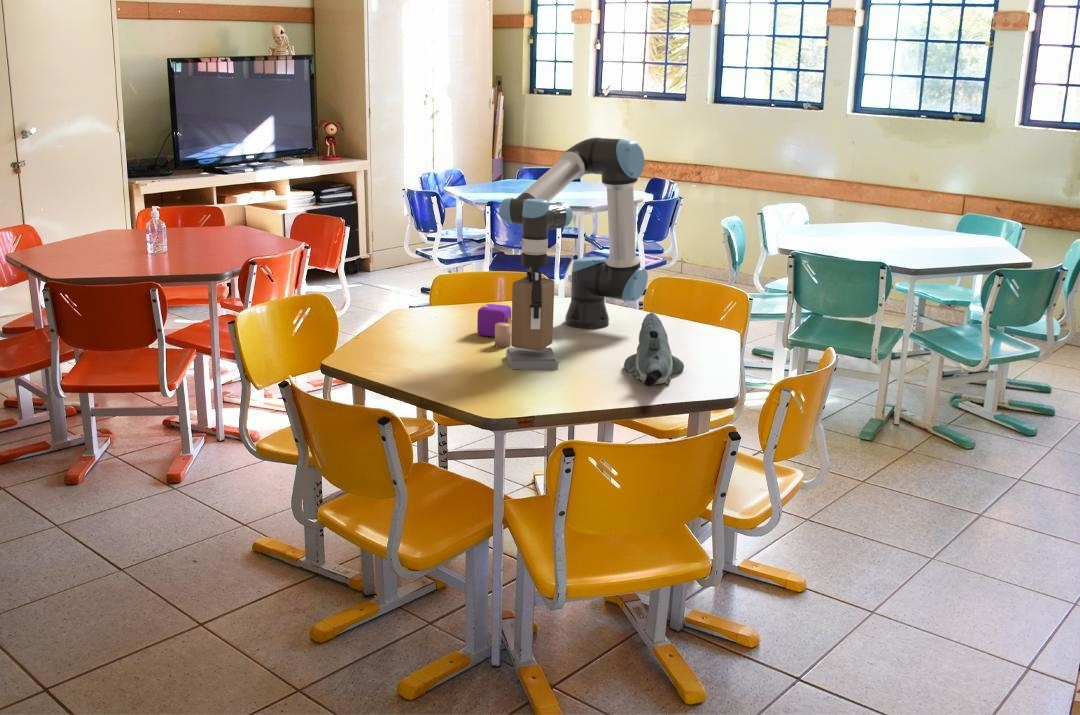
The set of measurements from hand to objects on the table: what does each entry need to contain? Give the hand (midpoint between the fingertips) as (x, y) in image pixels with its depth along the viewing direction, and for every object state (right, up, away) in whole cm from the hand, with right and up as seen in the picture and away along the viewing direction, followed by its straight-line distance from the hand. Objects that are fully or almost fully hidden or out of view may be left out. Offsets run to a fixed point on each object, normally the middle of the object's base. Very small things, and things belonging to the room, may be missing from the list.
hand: (532, 323), depth 313 cm
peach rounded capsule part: (-10, -6, +21) cm, 24 cm away
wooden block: (0, -7, +2) cm, 7 cm away
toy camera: (-13, -2, +37) cm, 39 cm away
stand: (0, -12, +3) cm, 12 cm away
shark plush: (+33, -17, -11) cm, 38 cm away
